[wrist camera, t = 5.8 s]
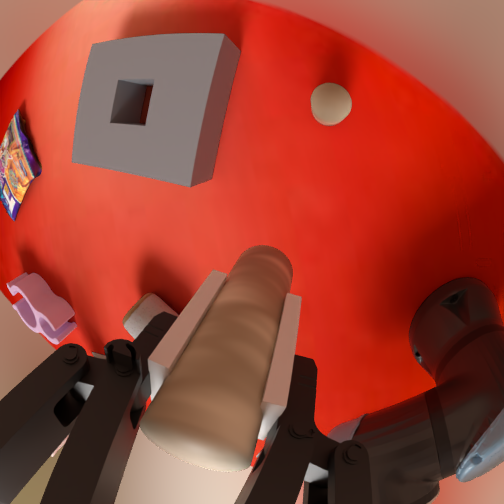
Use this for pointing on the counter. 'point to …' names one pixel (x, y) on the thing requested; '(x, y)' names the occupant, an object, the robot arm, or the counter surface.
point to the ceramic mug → (144, 313)
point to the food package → (16, 165)
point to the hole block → (156, 105)
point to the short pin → (330, 104)
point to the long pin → (224, 369)
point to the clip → (42, 307)
